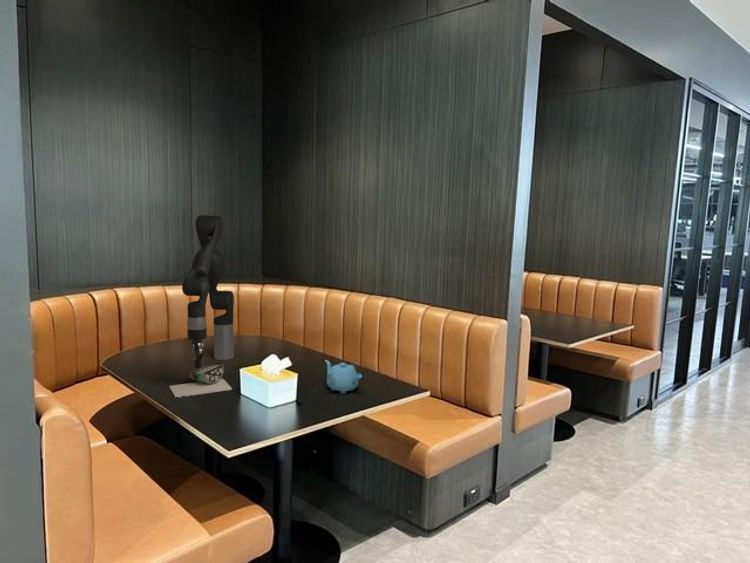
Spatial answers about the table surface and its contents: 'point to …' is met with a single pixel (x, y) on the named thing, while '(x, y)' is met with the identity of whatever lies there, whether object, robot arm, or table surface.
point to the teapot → (342, 377)
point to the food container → (208, 374)
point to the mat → (199, 388)
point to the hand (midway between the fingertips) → (197, 367)
